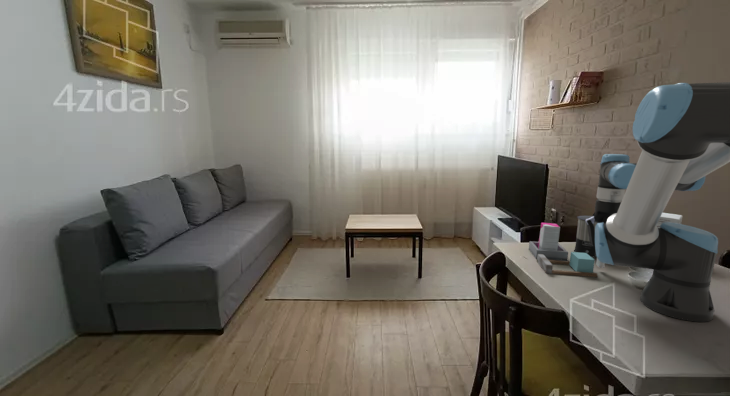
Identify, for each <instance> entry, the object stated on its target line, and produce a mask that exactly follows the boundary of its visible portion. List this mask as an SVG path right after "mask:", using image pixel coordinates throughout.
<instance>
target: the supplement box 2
mask: <svg viewBox="0 0 730 396" xmlns="http://www.w3.org/2000/svg"><path fill="white" fill-rule="evenodd" d="M682 221H683V215H682V214H675V213H667V212H663V213H662V215H661V216H660V218H659V220H658V222H657V224H656V226H657V228H660V225H661V224H662V223H663V222H671V223H677V224H682Z"/></svg>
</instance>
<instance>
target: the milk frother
mask: <svg viewBox="0 0 730 396" xmlns="http://www.w3.org/2000/svg"><path fill="white" fill-rule="evenodd" d="M591 217H593V215H579V216H577V217H576V218H577V220H578V221H577V229H576V238H575V246H574V250H573V252H579V253H587V254H588V255H589V256H591V257H592V258H597V257H596V256H595V247H593V246H592V245H591V244H590V241H589V234H588V227H587V224H586V222H585V219H586V218H587V219H589V218H591ZM596 224H597V223H596V222H595V220H594V224H593V225H594V230H595V227H596Z"/></svg>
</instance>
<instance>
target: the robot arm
mask: <svg viewBox="0 0 730 396" xmlns="http://www.w3.org/2000/svg"><path fill="white" fill-rule="evenodd" d="M632 136H633V138H634V140H635V141H637V145H638V147H639V149H641V152H640V155H639V157H638V160H637V162H630V158H631V157H630V155H628V154H624V153H623V154H622V153H605V154H603V155H602V157H601V160H600V164H599V166H600V168H599V176H598V183H597V191H596V198H597V199H596V200H595V203H594V204H595V205H594V213H593V214H592V216H593V217H591V218H589V219H587V218H586V219H585V222H586V224H587V227H588V234H589V241H590V244H591V245H592V246H593V247H595V256H596V257H595V258H596V260H595V261H596V262H595V265H596V266H597V267H598V268H603V269H604V268H605V266H606V264H607V265H612V266H621V267H629V268H638V269H645V270H646V269H647V270H652V275H651V277H650V279H649V280H648V282H647V283H646V284H645V286H644V287H643V289H642V290H641V293H640V301H641V303H642V304H643V305H644V306H645V307H647V308H648V309H651V310H652V311H655V312H657V313H659V314H661V315H665V316H667V317H671V318H674V319H678V320H683V321H688V322H696V323H697V322H699V323H701V322H702V323H703V322H704V323H705V322H710V321H712V320H713V319H714V314H715V307H714V303H713V299H712V294H711V290H710V288H711V286H710V285H711V281H712V278H713V272H714V268H715V264H716V258H717V254H718V253H719V251H718V249H719V248H718V247H719V238H718V236H716V235H715V233H712V232H710V231H707V230H705V229H702V228H699V227H695V226H691V225H687V224H682V223H681V224H677V223H671V222H663V223H662V224H661V225H660V228H657V226H656V224H657V222H658V220H659V218H660V216H661V215H662V213H664V211H665V209H666V207H667V205H668V203H669V201H670V199H671V197H672V196H673V194H674V191H679V192H686V191H688V192H689V191H690V192H691V191H692V192H695V191H698V190H700V189H701V188H702V187H703V186H704V184H705V181H706V176H708V175H709V174H711V173H713V172H715V171H716V170H718V169H720V168H722V167H724V166H725V165H727V164H729V163H730V81H725V82H723V81H722V82H703V83H701V82H699V83H698V82H697V83H688V82H678V83H675V84H663V85H658V86H655V88H653V89H651V90H650V91H648V92H647V93H646V95H645V96H644V97H643V98H642V100H641V101H640V103H639V105H638V107H637V109H636V111H635V115H634V121H633V123H632ZM594 220H595V222H596V223H597V224H596V227H595V230H594V225H593V224H594Z"/></svg>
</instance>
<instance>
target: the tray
mask: <svg viewBox="0 0 730 396" xmlns="http://www.w3.org/2000/svg"><path fill="white" fill-rule="evenodd" d="M538 245H539V241H531V240H530V241H529V244H528V251H529V252H530V253H531V254H532V256H533V255H534V256H533V257H534V258H535V260H537V255H538V254H543V255H544V256H545V257H546V258H547V259H548V260H558V261H568V258H569V257H568V256H569V252H568V250H567V249H565V248H564V246H562V245H561V244H560V243H559V242H558V248H557V251H555V250H539V249H538Z"/></svg>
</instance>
